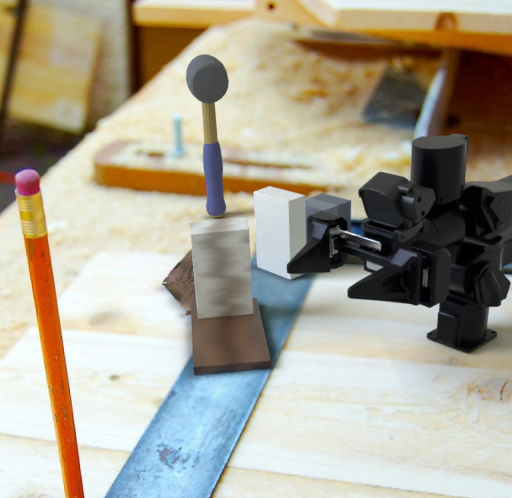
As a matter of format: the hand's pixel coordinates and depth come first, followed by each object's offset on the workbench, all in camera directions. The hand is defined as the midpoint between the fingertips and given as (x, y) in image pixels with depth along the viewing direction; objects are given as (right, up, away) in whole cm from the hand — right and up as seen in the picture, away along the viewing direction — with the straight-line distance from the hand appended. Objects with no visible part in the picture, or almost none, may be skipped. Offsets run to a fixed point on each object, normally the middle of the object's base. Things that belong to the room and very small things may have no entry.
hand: (316, 281), depth 81 cm
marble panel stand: (-7, -5, +26) cm, 28 cm away
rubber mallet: (-5, +20, +71) cm, 74 cm away
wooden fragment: (-10, +5, +45) cm, 46 cm away
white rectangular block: (+4, +6, +44) cm, 45 cm away
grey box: (+12, +10, +49) cm, 51 cm away
